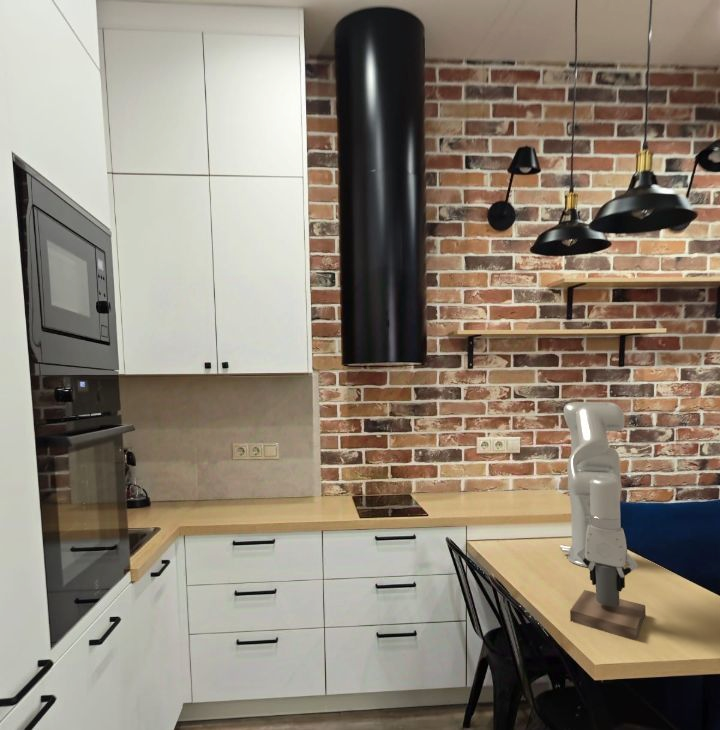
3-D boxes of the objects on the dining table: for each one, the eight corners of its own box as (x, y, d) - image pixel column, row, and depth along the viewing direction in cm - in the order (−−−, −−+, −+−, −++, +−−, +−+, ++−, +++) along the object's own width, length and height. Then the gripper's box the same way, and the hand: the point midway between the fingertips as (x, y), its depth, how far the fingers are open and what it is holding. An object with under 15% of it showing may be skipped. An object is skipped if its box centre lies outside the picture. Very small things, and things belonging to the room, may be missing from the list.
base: (570, 621, 129) (570, 610, 129) (584, 599, 142) (584, 589, 142) (636, 640, 119) (636, 628, 119) (645, 616, 132) (645, 605, 132)
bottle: (592, 596, 134) (590, 544, 134) (612, 596, 134) (611, 544, 134) (602, 606, 128) (600, 551, 128) (623, 606, 128) (622, 551, 128)
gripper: (569, 519, 134) (571, 583, 133) (638, 531, 123) (640, 600, 123) (576, 513, 140) (578, 574, 139) (642, 524, 129) (644, 590, 128)
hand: (607, 585), depth 131 cm, fingers closed on bottle, 5 cm apart
